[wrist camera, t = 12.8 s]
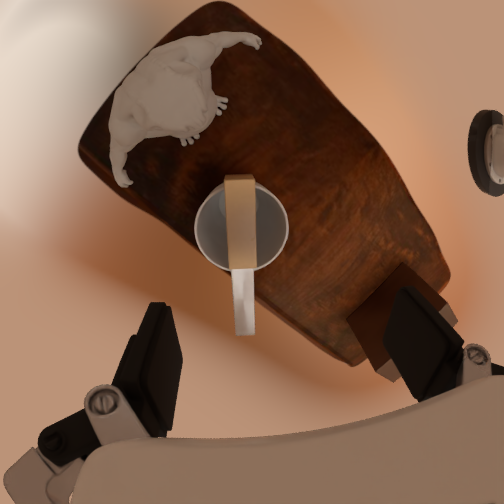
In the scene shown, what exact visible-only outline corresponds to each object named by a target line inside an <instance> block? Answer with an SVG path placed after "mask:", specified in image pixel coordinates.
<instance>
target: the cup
mask: <svg viewBox="0 0 504 504" xmlns="http://www.w3.org/2000/svg"><path fill="white" fill-rule="evenodd" d="M255 191H256V242H257V268H254V270H258V269H260V268H262V267H264V266H266V265H268V264H269V263H271V262H272V261H273V260H274V259H275V258H276V257H277V256H278V255H279V254H280V252H281V251H282V249H283V247H284V245H285V243H286V240H287V237H288V229H289V225H288V218H287V214H286V212H285V209H284V207H283V206H282V204H281V202H280V201H279V200H278V199H277V198H276V197H275V196H274V195H273V194H272V193H271V192H270V191H268V190H267V189H266V188H265V187H264V186H262V185H261V184H259V183H257V182H255ZM194 230H195V238H196V241H197V244H198V246H199V248H200V250H201V252H202V253H203V255H204V256H205V257H206V258H207V259H208V260H209V261H210V262H211V263H213V264H214V265H216V266H218V267H219V268H222V269H224V270H227V271H231V269H229V262H228V246H227V230H226V212H225V193H224V183H222V184H221V185H219V186H217V187H216V188H215V189H214V190H213V191H212V192H211V193H210V194H209V196H208V197H207V198H206V199H205V201H204V202H203V204H202V205H201V207H200V208H199V210H198V213H197V216H196V219H195V227H194Z"/></svg>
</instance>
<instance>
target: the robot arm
mask: <svg viewBox="0 0 504 504" xmlns="http://www.w3.org/2000/svg"><path fill="white" fill-rule="evenodd" d="M502 120H503V126H502V125H499V124H494V125H492V126H491V127H490V128H489V130H488V131H487V134H486V137H485V143H484V160H485V165H486V169H487V172H488V175H489V177H490V178H491V180H492V181H493V182H495V183H497V184H504V116H502ZM382 342H383V345H384V347H385V349H386V350H387V352H388V354H389V355H390V357H391V359H392V361H393V362H394V364H395V366H396V367H397V369H398V371H399V373H400V374H401V376H402V378H403V379H404V381H405V383H406V385H407V387H408V388H409V390H410V392H411V394H412V396H413V397H414V398H415V399H417V400H418V402H419V403H417V404H414V405H411V406H408V407H405V408H402V409H399V410H396V411H393V412H390V413H386V414H383V415H380V416H376V417H372V418H369V419H365V420H361V421H357V422H353V423H349V424H344V425H340V426H335V427H330V428H324V429H319V430H313V431H306V432H299V433H292V434H284V435H274V436H264V437H248V438H220V439H201V438H200V439H199V438H198V439H197V438H166V436H167V431H171V430H172V425H173V418H174V411H175V405H176V399H177V392H178V387H179V381H180V375H181V369H182V363H183V358H182V352H181V349H180V344H179V341H178V336H177V332H176V328H175V324H174V319H173V315H172V310H171V307H170V306H166V304H165V302H151V303H150V304H149V306H148V309H147V311H146V313H145V316H144V318H143V321H142V323H141V325H140V327H139V330H138V333H137V335H132V336H131V337H130V339H129V341H128V344H127V346H126V349H125V351H124V354H123V356H122V358H121V361H120V363H119V366H118V369H117V371H116V374H115V376H114V379H113V382H112V384H111V385H108V384H106V385H99V386H96V387H95V388H93V389H91V390H90V391H89V392H88V393H87V395H86V397H85V400H84V407H85V408H84V409H82V410H80V411H78V412H77V413H74V414H72V415H71V416H69V417H67V418H64V419H62V420H60V421H58V422H56V423H54V424H52V425H50V426H49V427H46V428H45V429H44V430H43V431H42V432H41V433H40V436H39V438H38V447H37V448H36V449H35V448H33V447H32V448H31V449H30V450H29V451H28V452H26V453H25V454H24V455H23V456H22V457H21V458H20V459H19V460H18V461H17V462H16V463H15V464H13V466H11V467H10V468H9V469H8V470H7V471H6V473H5V474H4V479H3V482H4V486H5V488H6V490H7V492H8V494H9V495H10V496H11V498H12V500H13V501H14V502H15V504H69V497H70V495H71V493H72V492H73V495H72V499H71V504H504V367H503V366H500V365H497V364H494V363H491V358H490V354H489V353H488V351H487V350H486V349H485V348H484V347H482V346H480V345H478V344H468V345H467V346H466V347H465V348H464V349H463V348H462V345H463V343H464V340H463V339H462V338H461V337H460V335H459V334H458V333H457V332H456V331H455V330H454V329H453V327H452V326H451V325H450V324H449V323H448V322H447V321H446V320H445V318H444V317H443V316H442V315H441V314H440V313H439V312H438V311H437V310H436V309H435V308H434V307H433V305H432V304H431V303H430V302H429V301H428V300H427V299H426V298H425V297H424V296H423V295H422V294H421V293H420V292H419V291H418V290H417V289H416V288H415V287H414V286H404V287H401V288H400V289H399V291H397V293H396V296H395V299H394V303H393V306H392V310H391V313H390V316H389V320H388V323H387V326H386V329H385V332H384V335H383V339H382ZM158 437H164V438H158ZM74 486H75V487H74Z"/></svg>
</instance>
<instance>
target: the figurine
mask: <svg viewBox="0 0 504 504" xmlns="http://www.w3.org/2000/svg"><path fill="white" fill-rule="evenodd" d="M238 42H243V44H246V45H249V46H253V47H255V49H256V50H258V49H259V45H262V42H261V39H260V38H259V37H258V36H257V35H253V34H252V33H247V32H226V31H224V32H220V33H211V34H209V35H205V36H200V37H198V36H188V37H184V38H181V39H179V40H176V41H173V42H170V43H167V44H165V45H163V46H159V47H156V48H154V49H153V50H152V51H151V52H150V53H149V55H148V56H147V57H145V58H144V59H143V60H141V61H140V63H139V64H138V65H137V67H136V69H135V71H133V72H131V73H130V74H129V75H128V76H127V77H126V78H125V80H124V81H123V83H122V85H121V86H120V87H119V88H118V89H117V90H116V92H115V95H114V101H113V105H112V111H111V116H110V120H109V131H110V134H111V143H110V160H111V163H112V170H113V174H114V177H115V181H117V183H118V185H120V186H121V187H128V186H129V185H131V184H133V181H130V180H129V178H128V176H127V174H126V170H123V169H122V168H123V166H124V164H125V162H126V159H127V153H126V152H128V151H130V150H132V149H133V148H134V147H135V146H136V144H137V143H139V142H141V141H142V140H143V139H144V138H153V137H162V136H167V135H171V136H174V137H177V138H180V140H181V144H182V146H186V145H187V142H186V140H185V139H187V140H188V142H189V144H193V143H194V140H193V139H192V138H191V137H192V136H193V137H194V138H195V139H199V137H200V135H199V133H200V132H202V131H203V130H205V129H206V128H207V127H208V126H209V125H210V123H211V122H212V120H213V118H214V116H215V114H217V115H219V116H220V115H221V114H222V112H221V110H219V109H218V107H220V108H222V109H223V110H225V109H226V108H227V106H226V105H225V104H222V103H221V102H224V103H226V102H228V99H227V98H223V97H220V96H217V95H215V94H214V92H213V91H212V89H211V85H212V84H211V70H210V66H211V65H212V64H213V62H214V59H215V58H217V57H218V56H219V54H220V53H221V51H222V48H228V47H231V46H233V45H235V44H237V43H238ZM257 42H258V43H257ZM258 44H259V45H258ZM128 184H129V185H128Z"/></svg>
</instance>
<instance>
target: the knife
mask: <svg viewBox="0 0 504 504" xmlns="http://www.w3.org/2000/svg"><path fill="white" fill-rule="evenodd" d="M224 193H225V212H226V230H227V246H228V262H229V269H231V276H232V291H233V305H234V319H235V332H236V336H242V335H255V308H254V268H257V242H256V191H255V179H254V177H253V175H252V174H234V175H225V178H224Z"/></svg>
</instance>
